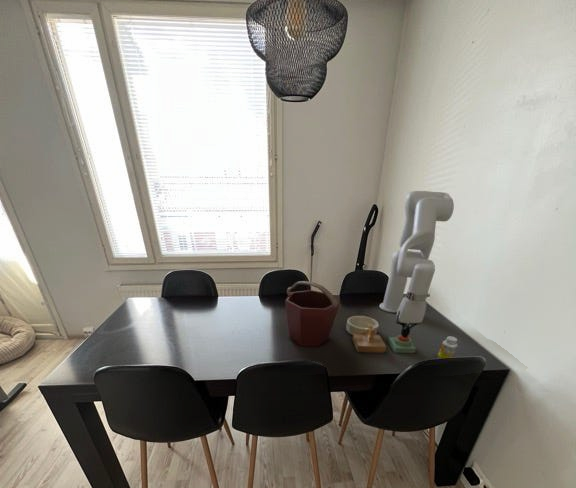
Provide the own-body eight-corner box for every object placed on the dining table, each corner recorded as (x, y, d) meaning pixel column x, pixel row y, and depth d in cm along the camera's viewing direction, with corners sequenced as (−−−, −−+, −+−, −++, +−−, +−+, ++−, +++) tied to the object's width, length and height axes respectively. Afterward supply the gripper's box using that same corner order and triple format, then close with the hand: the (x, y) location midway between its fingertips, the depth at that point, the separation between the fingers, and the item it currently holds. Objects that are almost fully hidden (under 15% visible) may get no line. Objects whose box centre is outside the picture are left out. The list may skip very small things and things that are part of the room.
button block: (387, 341, 136) (389, 333, 133) (406, 341, 136) (409, 334, 134) (394, 352, 127) (396, 344, 125) (414, 352, 128) (417, 345, 125)
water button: (396, 337, 131) (397, 333, 130) (406, 337, 132) (407, 334, 131) (399, 342, 128) (400, 338, 127) (409, 342, 128) (410, 338, 127)
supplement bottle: (438, 354, 127) (447, 333, 121) (452, 359, 124) (461, 338, 119) (434, 359, 124) (443, 338, 118) (448, 364, 121) (457, 343, 115)
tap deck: (351, 337, 137) (352, 331, 136) (376, 337, 138) (378, 331, 136) (357, 352, 126) (358, 345, 125) (384, 352, 127) (386, 346, 125)
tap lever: (364, 333, 134) (366, 323, 131) (368, 334, 134) (370, 323, 131) (368, 341, 128) (370, 331, 125) (372, 342, 128) (374, 331, 125)
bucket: (274, 332, 138) (275, 280, 124) (309, 321, 149) (314, 272, 135) (308, 355, 122) (313, 298, 108) (344, 341, 134) (354, 288, 120)
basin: (343, 324, 148) (345, 315, 146) (371, 325, 149) (374, 316, 146) (349, 338, 136) (350, 328, 133) (379, 339, 137) (382, 329, 134)
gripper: (430, 293, 122) (417, 332, 132) (395, 292, 121) (384, 331, 131) (438, 300, 115) (424, 340, 126) (401, 299, 115) (390, 339, 125)
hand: (404, 335), depth 129 cm, fingers closed
